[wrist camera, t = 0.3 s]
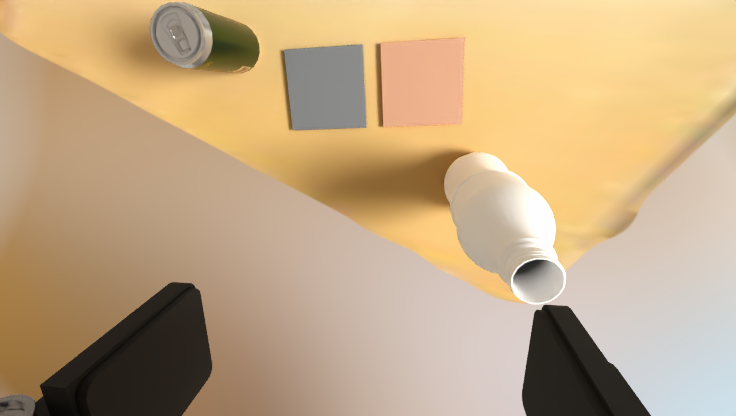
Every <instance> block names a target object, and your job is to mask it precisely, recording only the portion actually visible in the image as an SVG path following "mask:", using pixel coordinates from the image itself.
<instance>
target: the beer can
mask: <svg viewBox="0 0 736 416" xmlns="http://www.w3.org/2000/svg"><path fill="white" fill-rule="evenodd" d="M150 34H151V39H152V42H153V44H154V47H155V49H156V50H157V51H158V53H159V54H160V55H161V56H162V57H163V58H164V59H165V60H167V61H168V62H171V63H173V64H174V65H177V66H179V67H182V68H189V69H201V70H212V71H223V72H235V73H243V72H246V71H249V70H250V69H251V68H253V67H254V65H255V64H256V62H257V61H258V57H259V43H258V40H257V37H256V36H255V34H254V33H253V31H252V30H251V29H250V28H249V27H247V26H246V25H244V24H241V23H239V22H236V21H234V20H231V19H228V18H226V17H223V16H220V15H217V14H215V13H212V12H209V11H207V10H204V9H201V8H199V7H196V6H193V5H191V4H188V3H185V2H175V3H167V4H164V5H161V6H160V7H159V8H158V9H157V10H156V11H155V13H154V15H153V17H152V19H151V24H150Z"/></svg>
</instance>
